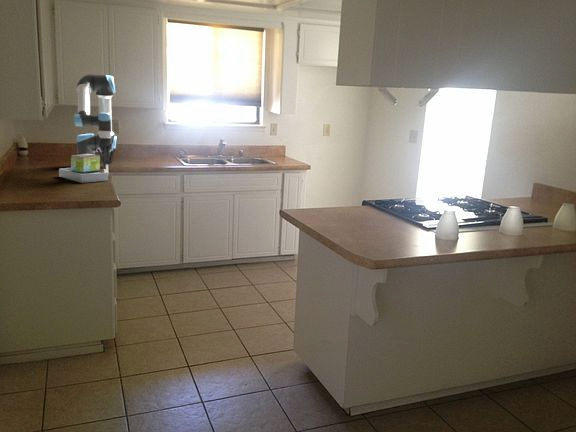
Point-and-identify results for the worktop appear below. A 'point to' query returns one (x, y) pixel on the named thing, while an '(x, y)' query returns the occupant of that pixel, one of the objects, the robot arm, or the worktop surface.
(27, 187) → the worktop surface
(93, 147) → the robot arm
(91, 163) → the tea box
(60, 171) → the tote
